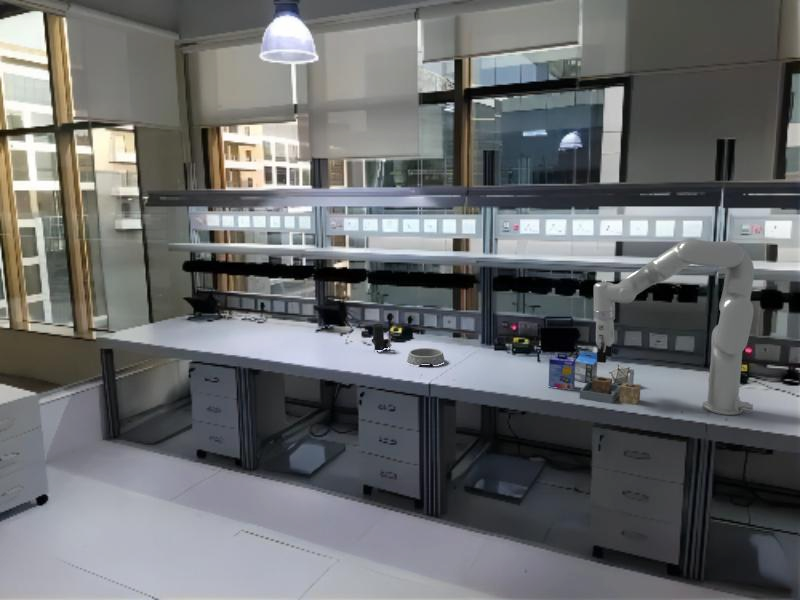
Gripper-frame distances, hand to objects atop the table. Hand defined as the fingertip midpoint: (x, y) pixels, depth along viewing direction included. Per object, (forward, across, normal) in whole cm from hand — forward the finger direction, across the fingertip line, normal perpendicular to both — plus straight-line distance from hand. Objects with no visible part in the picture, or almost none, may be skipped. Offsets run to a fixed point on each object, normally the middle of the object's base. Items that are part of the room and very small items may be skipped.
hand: (604, 359), depth 222 cm
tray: (+14, 0, +2) cm, 15 cm away
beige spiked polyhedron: (+15, +18, -2) cm, 23 cm away
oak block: (+15, -1, -9) cm, 18 cm away
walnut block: (+14, 0, +1) cm, 14 cm away
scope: (+9, +17, +116) cm, 117 cm away
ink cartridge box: (+14, +3, +18) cm, 23 cm away
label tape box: (+14, +16, +12) cm, 24 cm away
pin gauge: (+15, -1, -9) cm, 18 cm away
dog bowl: (+11, +9, +84) cm, 86 cm away
